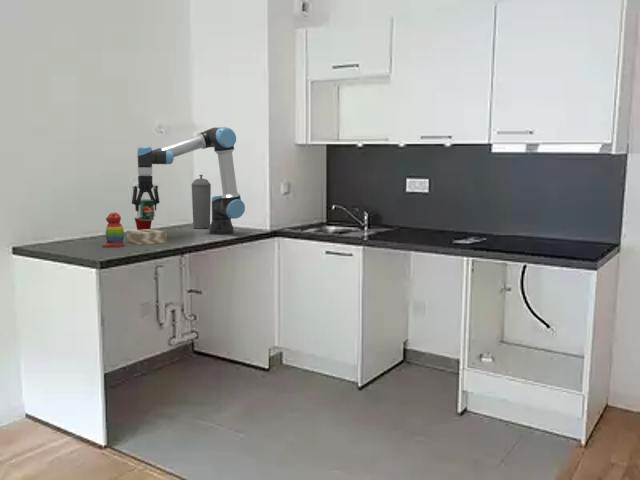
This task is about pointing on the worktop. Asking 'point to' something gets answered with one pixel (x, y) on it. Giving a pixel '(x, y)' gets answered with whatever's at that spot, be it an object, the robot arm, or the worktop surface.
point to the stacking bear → (114, 231)
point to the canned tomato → (146, 209)
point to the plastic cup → (142, 224)
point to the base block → (146, 236)
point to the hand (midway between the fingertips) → (146, 216)
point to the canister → (201, 203)
